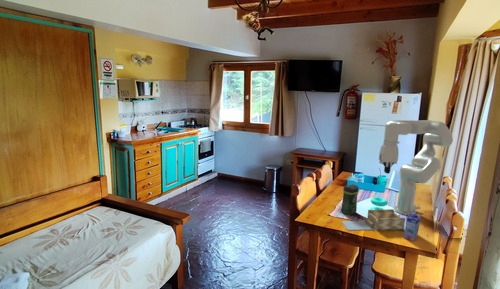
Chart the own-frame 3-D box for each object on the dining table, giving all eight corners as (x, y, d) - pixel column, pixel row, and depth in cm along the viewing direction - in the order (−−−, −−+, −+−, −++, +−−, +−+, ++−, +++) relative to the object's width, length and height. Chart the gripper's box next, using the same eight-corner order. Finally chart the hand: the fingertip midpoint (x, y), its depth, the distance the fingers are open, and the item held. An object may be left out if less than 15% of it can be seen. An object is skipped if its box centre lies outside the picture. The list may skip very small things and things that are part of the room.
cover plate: (367, 222, 181) (367, 217, 180) (375, 230, 171) (375, 225, 170) (341, 222, 180) (341, 217, 179) (348, 231, 170) (348, 225, 169)
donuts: (390, 202, 185) (374, 202, 185) (389, 217, 187) (373, 217, 187) (383, 196, 195) (368, 196, 195) (381, 210, 197) (366, 210, 197)
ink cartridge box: (414, 241, 159) (418, 216, 156) (403, 238, 162) (406, 213, 159) (418, 234, 166) (422, 210, 163) (407, 231, 169) (410, 207, 167)
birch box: (392, 220, 183) (393, 209, 181) (403, 230, 171) (405, 218, 169) (367, 221, 181) (368, 209, 180) (376, 230, 169) (378, 218, 168)
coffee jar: (349, 216, 187) (351, 188, 184) (339, 211, 194) (341, 184, 190) (358, 212, 193) (361, 185, 189) (348, 208, 199) (350, 182, 195)
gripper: (398, 142, 182) (395, 171, 185) (375, 142, 180) (372, 171, 184) (406, 144, 174) (402, 174, 178) (381, 144, 173) (378, 174, 177)
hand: (386, 172), depth 181 cm, fingers closed
